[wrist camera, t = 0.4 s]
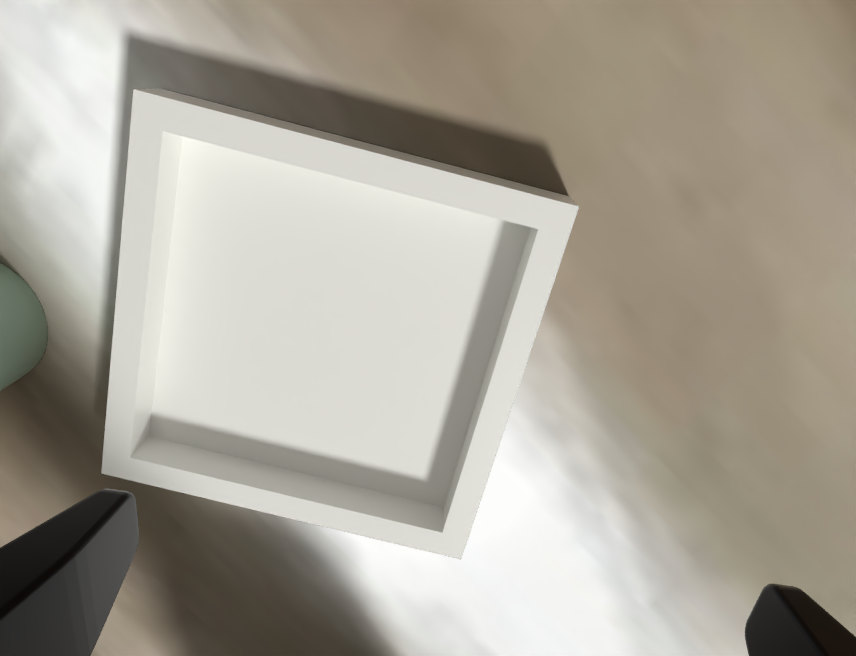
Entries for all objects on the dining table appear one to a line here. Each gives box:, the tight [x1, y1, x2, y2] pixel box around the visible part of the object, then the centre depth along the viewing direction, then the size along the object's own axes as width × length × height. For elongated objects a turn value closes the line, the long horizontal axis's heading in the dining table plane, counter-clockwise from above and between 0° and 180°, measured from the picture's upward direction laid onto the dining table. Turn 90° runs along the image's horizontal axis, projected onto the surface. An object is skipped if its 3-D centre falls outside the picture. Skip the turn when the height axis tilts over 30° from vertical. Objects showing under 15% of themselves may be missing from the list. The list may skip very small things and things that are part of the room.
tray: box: [101, 89, 579, 559], centre depth 23 cm, size 14×14×2 cm
